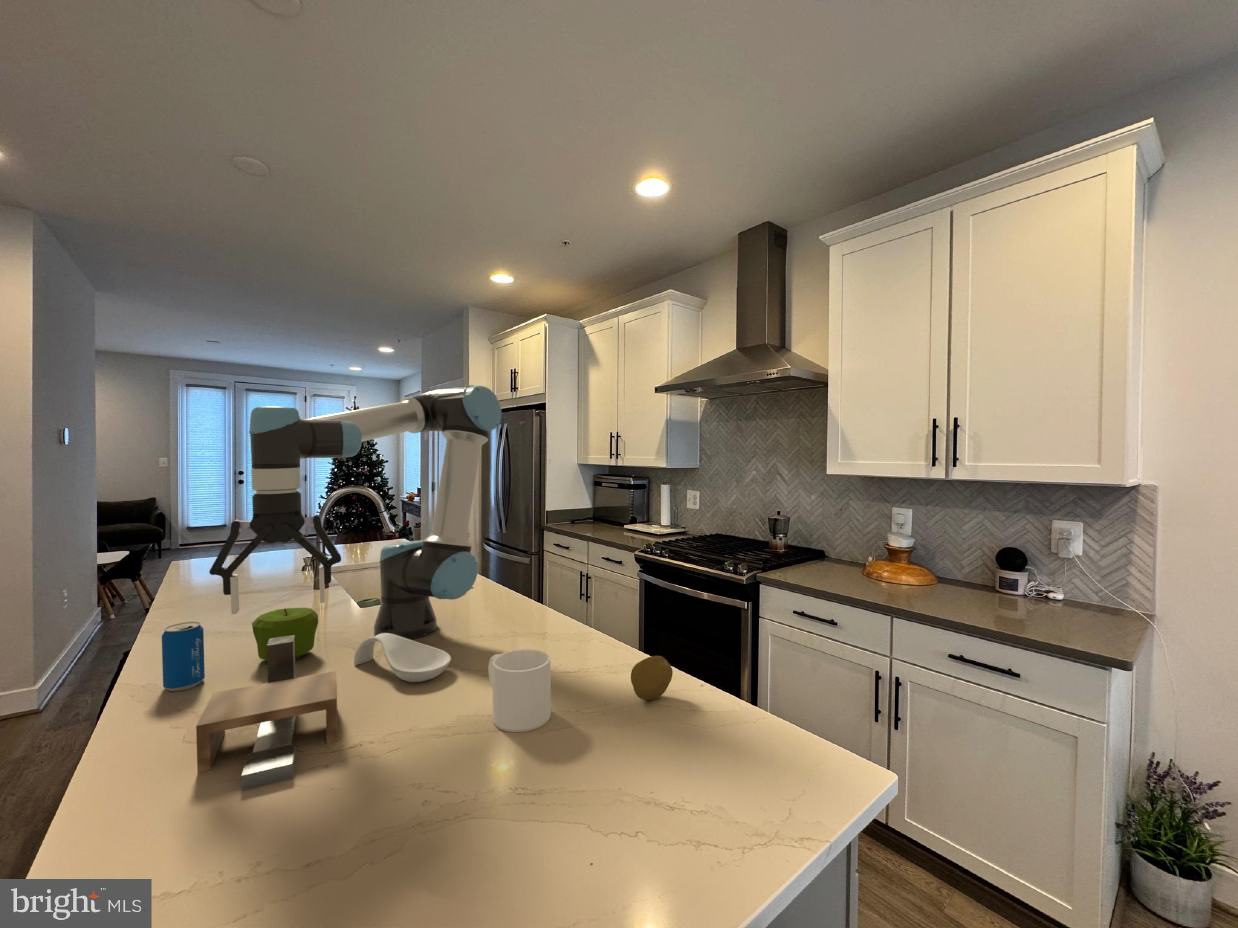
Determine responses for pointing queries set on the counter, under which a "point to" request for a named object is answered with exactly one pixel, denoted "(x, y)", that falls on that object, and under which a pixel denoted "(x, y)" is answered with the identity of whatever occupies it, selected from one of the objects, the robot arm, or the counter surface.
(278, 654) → the grey metal prism
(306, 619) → the apple
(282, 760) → the block
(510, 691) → the mug
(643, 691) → the potato
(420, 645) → the spoon rest
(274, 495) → the robot arm
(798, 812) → the counter surface
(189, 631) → the beverage can
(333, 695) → the walnut shelf
